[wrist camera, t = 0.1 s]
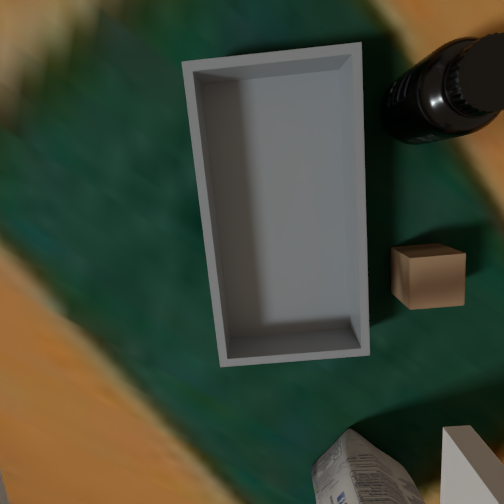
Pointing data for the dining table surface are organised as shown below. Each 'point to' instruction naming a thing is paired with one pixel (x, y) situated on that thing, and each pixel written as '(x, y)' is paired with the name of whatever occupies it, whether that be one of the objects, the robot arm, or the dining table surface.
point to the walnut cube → (428, 275)
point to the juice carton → (361, 475)
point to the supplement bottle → (448, 92)
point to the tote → (283, 201)
